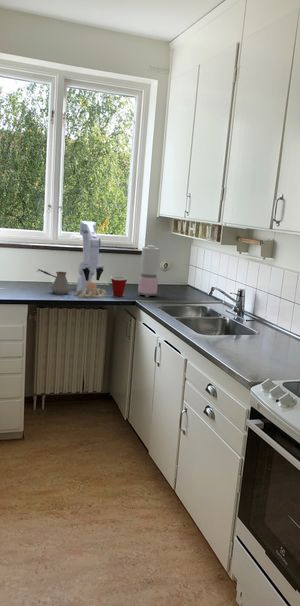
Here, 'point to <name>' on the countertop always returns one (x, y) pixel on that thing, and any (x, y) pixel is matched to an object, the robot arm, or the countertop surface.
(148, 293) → the blender
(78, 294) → the dish rack
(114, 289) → the plastic cup
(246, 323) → the countertop surface
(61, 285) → the coffee pot
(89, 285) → the upright peach slab
